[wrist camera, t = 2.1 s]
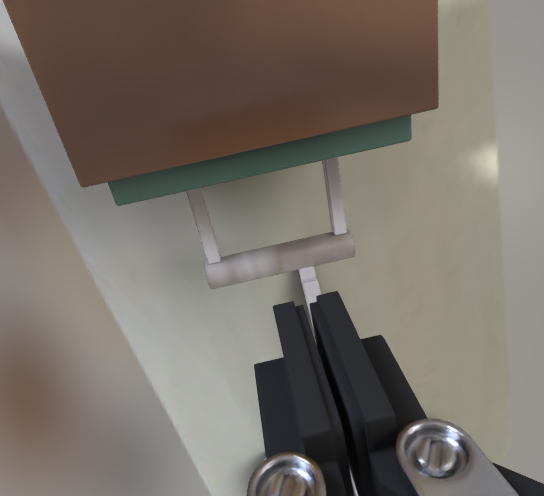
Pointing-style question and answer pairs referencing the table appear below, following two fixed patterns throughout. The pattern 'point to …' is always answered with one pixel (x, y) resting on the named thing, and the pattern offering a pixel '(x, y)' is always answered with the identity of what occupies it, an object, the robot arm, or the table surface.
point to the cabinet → (220, 74)
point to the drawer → (260, 162)
